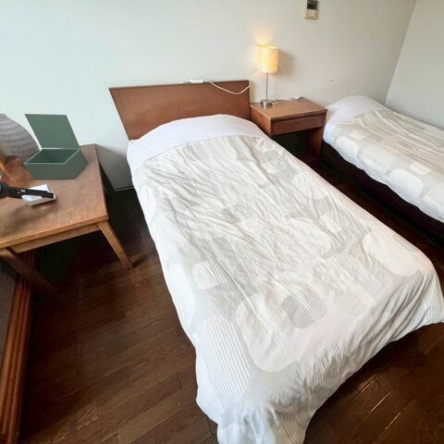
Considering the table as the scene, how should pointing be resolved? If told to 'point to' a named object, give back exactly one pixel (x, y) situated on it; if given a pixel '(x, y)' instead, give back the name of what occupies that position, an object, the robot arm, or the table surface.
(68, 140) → the lid
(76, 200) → the table surface
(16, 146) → the vase
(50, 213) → the table surface
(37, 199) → the mug
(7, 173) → the table surface
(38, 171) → the chest
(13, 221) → the table surface
